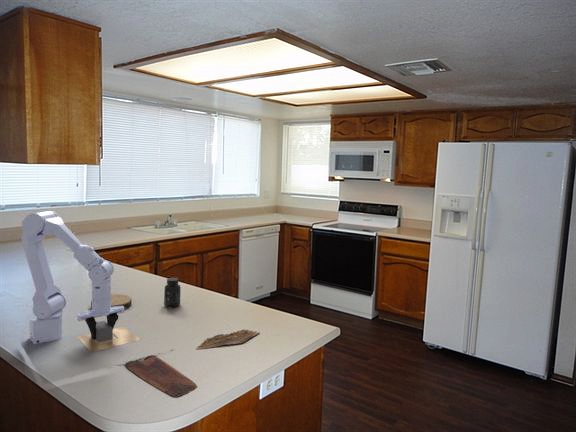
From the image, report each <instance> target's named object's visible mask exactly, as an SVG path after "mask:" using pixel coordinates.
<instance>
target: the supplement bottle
mask: <svg viewBox="0 0 576 432" xmlns="http://www.w3.org/2000/svg"><path fill="white" fill-rule="evenodd" d="M163 289H164V290H163V291H164V293H163V295H164V296H163V297H164V298H163V304H164V307H165V308H167V309H176V308H178V307H180V306H181V285H180V284H179V278H178V277H169V278H167V279H166V284H165V285H164V288H163Z"/></svg>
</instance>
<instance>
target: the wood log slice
mask: <svg viewBox="0 0 576 432" xmlns="http://www.w3.org/2000/svg"><path fill="white" fill-rule="evenodd" d="M132 301H133V299H132V297H131V296H130V295H127V294H122V293H121V294H120V293H119V294H118V293H116V294H115V293H114V294H113V293H111V307H118V306H123V307H124V311H125V310H126V309H127V310H128V309H129V308H131V306H132ZM90 306H91V307H90V308H91V309H92V300H91V301H90Z"/></svg>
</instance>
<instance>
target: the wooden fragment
mask: <svg viewBox="0 0 576 432" xmlns="http://www.w3.org/2000/svg"><path fill="white" fill-rule="evenodd" d="M259 334H260V332H259V331H254V330H250V329H241V330H238V331H235V332H234V331H233V332H230V333H225V334H224V333H221V334H216V335H214V336H212V337H208V338H207V337H206V339H205V340H204V341H203V342H202V343H201V344H200V345H198V346H197V347H196V348H195V350H203V349H204V350H205V349H210V348H215V347H216V348H217V347H221V346H227V345H236V344H237V345H238V344H244V343H245V342H247V341H248V340H249V339H251V338H253V337H255V336H256V335H259Z"/></svg>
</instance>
